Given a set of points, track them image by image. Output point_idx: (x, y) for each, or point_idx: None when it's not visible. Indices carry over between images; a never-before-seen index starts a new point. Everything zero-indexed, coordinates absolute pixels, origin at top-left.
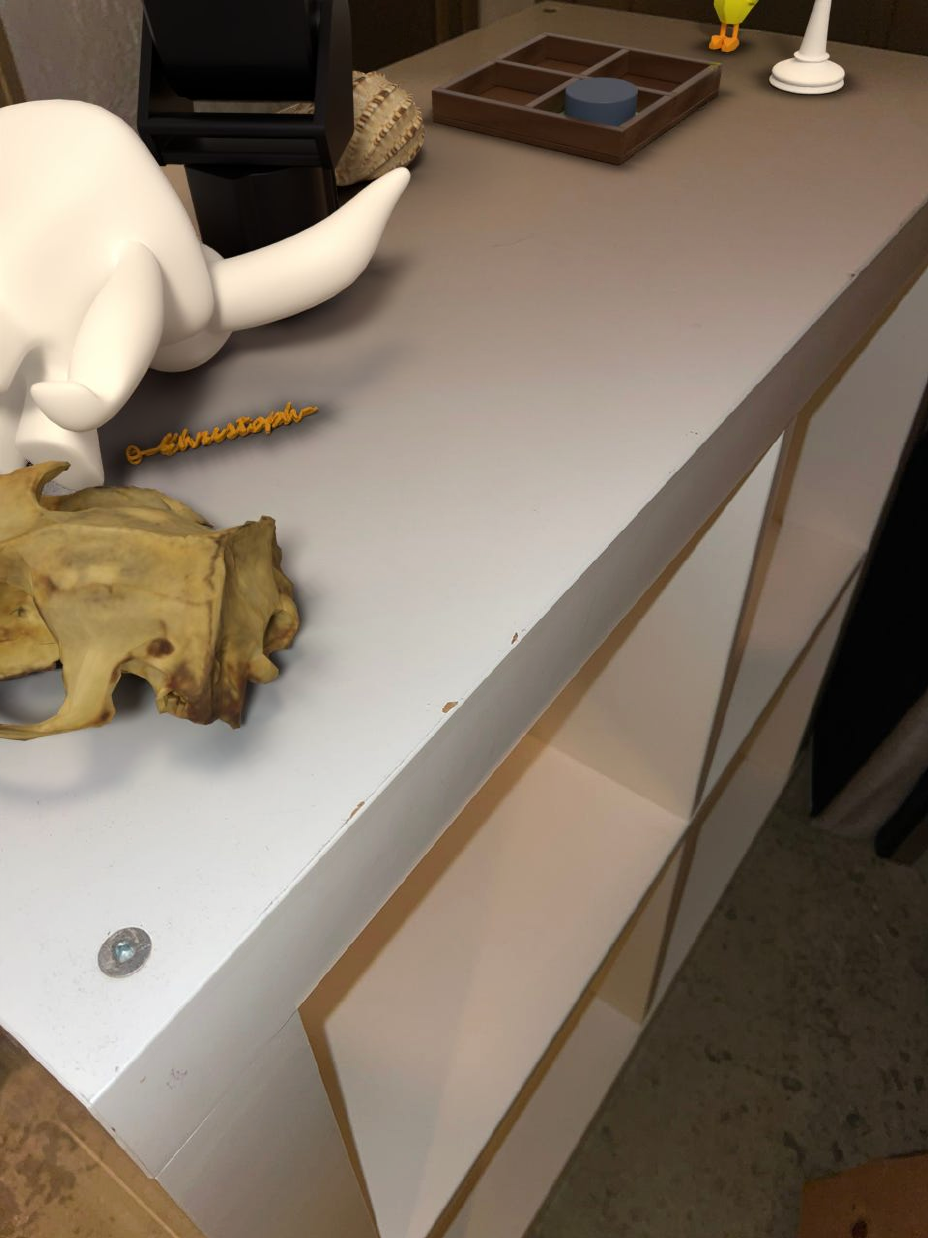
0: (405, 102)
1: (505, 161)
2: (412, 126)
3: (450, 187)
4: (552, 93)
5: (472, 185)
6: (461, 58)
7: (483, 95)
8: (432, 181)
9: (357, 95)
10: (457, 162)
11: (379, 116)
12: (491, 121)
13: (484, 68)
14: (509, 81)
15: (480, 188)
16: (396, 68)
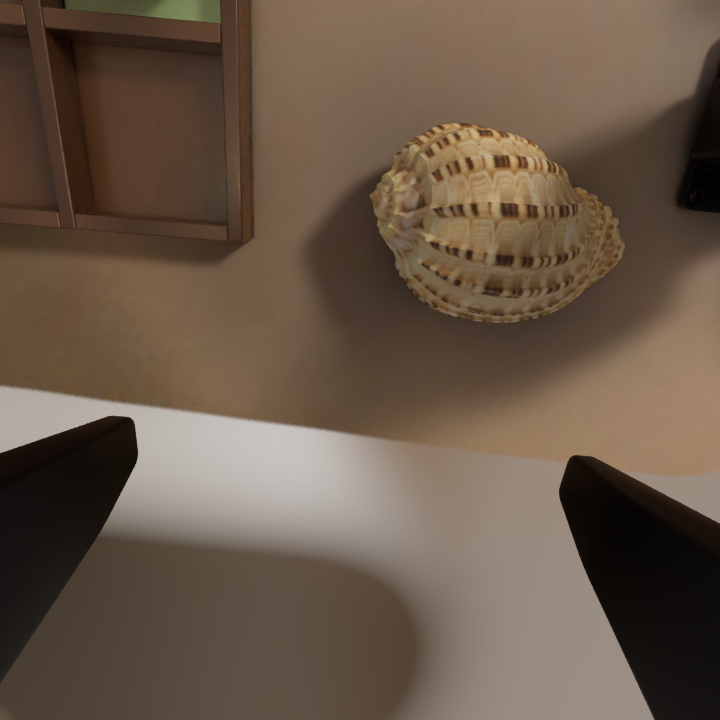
0: (466, 137)
1: (328, 36)
2: (464, 126)
3: (451, 69)
4: (140, 20)
5: (431, 37)
6: (22, 339)
7: (141, 209)
8: (442, 110)
9: (532, 195)
10: (366, 113)
11: (526, 152)
12: (247, 115)
13: (111, 216)
14: (85, 184)
15: (436, 17)
16: (117, 399)
